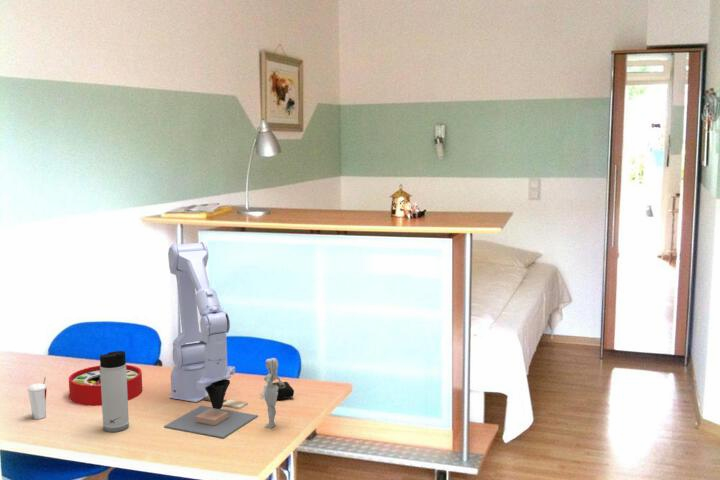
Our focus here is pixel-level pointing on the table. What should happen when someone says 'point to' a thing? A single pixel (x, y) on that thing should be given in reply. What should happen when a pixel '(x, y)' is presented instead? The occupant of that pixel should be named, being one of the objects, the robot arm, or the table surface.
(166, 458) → the table surface
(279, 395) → the tape measure
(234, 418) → the mat
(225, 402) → the turner
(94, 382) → the toy clock
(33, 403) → the milkshake
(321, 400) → the table surface
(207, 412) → the tile
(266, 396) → the human figurine
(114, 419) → the travel mug
